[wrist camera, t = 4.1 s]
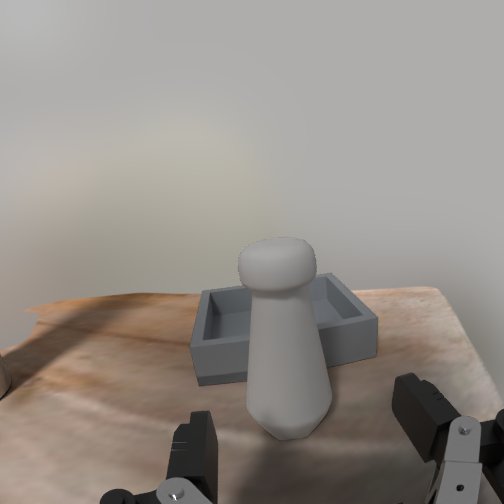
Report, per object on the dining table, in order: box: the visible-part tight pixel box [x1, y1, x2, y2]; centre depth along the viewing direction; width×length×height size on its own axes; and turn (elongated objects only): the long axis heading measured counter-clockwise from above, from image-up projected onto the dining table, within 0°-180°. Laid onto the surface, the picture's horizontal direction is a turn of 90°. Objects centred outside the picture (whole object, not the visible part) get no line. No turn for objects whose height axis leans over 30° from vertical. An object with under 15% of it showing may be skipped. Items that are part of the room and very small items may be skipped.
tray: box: [190, 273, 378, 386], centre depth 33 cm, size 16×14×4 cm
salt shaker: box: [238, 237, 333, 441], centre depth 19 cm, size 6×6×13 cm
